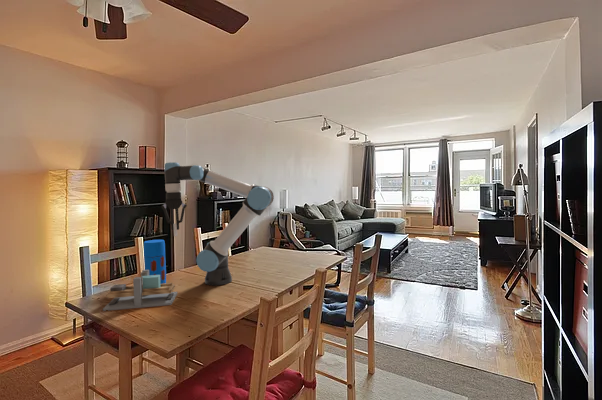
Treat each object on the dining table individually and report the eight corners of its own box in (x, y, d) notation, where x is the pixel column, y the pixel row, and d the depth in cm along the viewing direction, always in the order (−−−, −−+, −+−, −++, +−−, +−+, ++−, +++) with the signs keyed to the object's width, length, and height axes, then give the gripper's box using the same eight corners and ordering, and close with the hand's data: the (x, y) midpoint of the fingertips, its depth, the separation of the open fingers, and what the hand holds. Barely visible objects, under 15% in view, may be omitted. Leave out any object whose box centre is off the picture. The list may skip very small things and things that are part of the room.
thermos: (170, 283, 185) (168, 239, 184) (156, 288, 175) (154, 243, 174) (155, 281, 188) (153, 239, 187) (140, 287, 178) (139, 242, 177)
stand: (177, 293, 166) (176, 267, 166) (171, 304, 150) (170, 276, 150) (116, 298, 160) (114, 271, 160) (102, 310, 144) (101, 281, 144)
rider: (160, 286, 159) (160, 274, 158) (158, 289, 155) (158, 277, 154) (143, 288, 157) (142, 275, 157) (140, 290, 153) (140, 278, 153)
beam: (175, 286, 164) (174, 269, 163) (170, 293, 152) (170, 275, 152) (115, 290, 158) (114, 273, 158) (105, 298, 146) (104, 280, 146)
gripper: (186, 191, 176) (188, 234, 177) (160, 192, 172) (163, 236, 173) (186, 191, 169) (188, 236, 170) (159, 192, 165) (161, 238, 166)
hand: (175, 235), depth 172 cm, fingers closed
